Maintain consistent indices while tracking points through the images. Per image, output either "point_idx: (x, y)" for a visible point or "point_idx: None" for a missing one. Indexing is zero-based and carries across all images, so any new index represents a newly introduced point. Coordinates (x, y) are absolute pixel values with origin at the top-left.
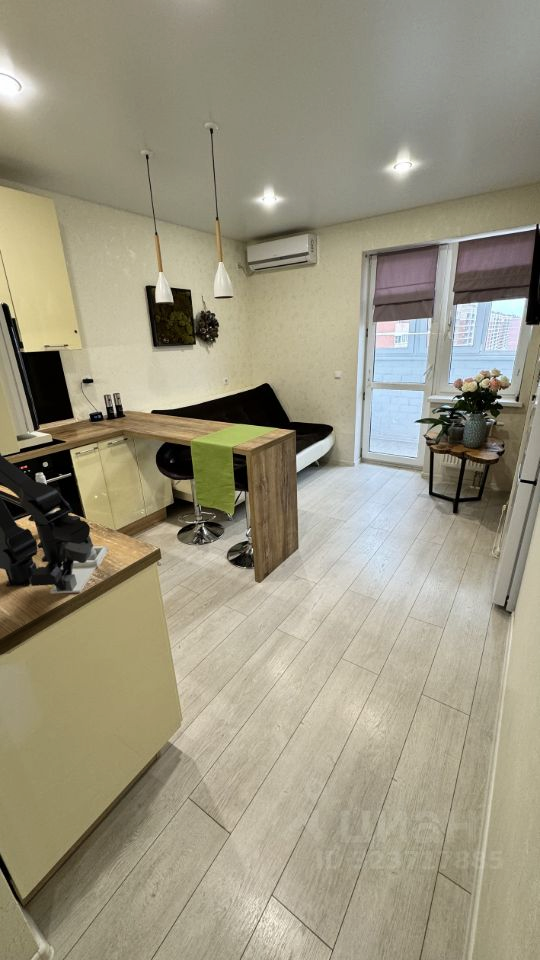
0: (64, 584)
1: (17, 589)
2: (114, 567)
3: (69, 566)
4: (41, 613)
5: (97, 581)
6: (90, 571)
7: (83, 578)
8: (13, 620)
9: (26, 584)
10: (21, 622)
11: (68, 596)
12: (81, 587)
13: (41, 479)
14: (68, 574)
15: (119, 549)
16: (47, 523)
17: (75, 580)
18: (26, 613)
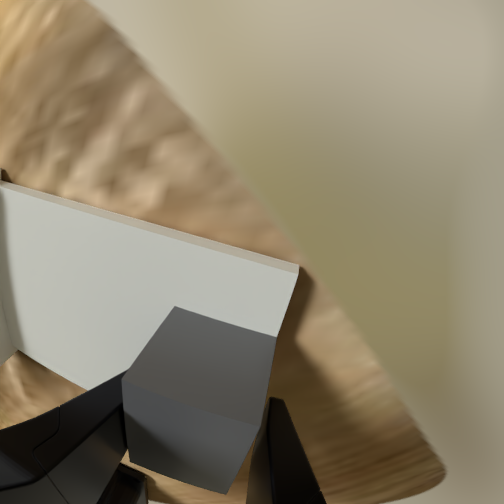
0: (288, 446)
1: (166, 493)
2: (26, 42)
3: (61, 471)
4: (415, 441)
5: (157, 119)
6: (32, 210)
7: (106, 257)
8: (387, 496)
9: (144, 483)
10: (423, 477)
11: (317, 348)
12: (251, 263)
13: None
14: (123, 420)
15: None
16: None
17: (167, 336)
18: (368, 481)
